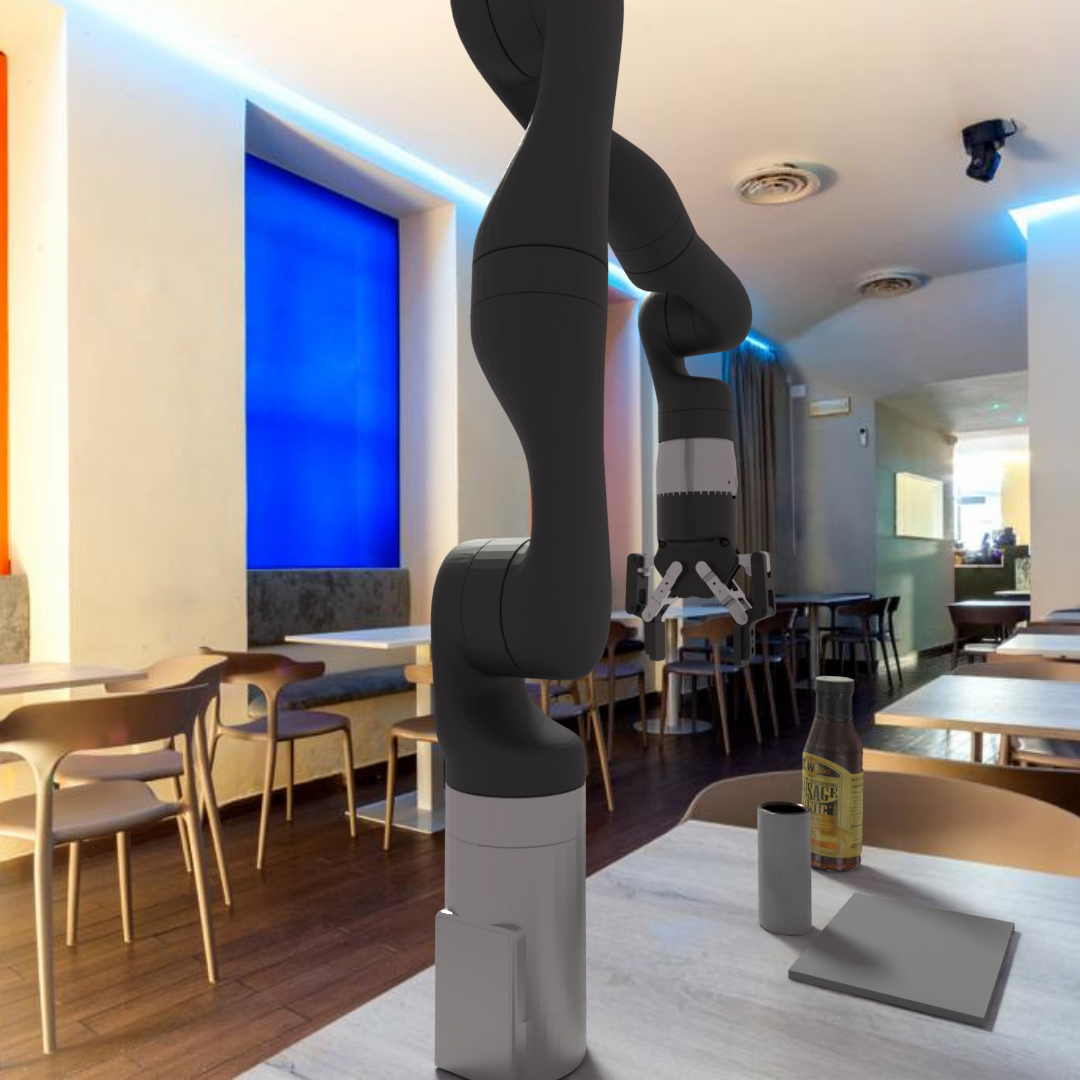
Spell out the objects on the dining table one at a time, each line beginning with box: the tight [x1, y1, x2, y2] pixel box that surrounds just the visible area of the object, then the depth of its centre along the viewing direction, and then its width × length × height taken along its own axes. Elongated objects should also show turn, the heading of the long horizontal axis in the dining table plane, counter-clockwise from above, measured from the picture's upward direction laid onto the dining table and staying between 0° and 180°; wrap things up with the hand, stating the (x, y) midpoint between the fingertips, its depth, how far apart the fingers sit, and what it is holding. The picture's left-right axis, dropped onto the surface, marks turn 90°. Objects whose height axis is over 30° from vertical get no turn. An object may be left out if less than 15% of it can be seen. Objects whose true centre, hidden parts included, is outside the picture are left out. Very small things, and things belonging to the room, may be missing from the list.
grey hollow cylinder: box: [757, 800, 813, 936], centre depth 79 cm, size 4×4×10 cm
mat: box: [787, 892, 1015, 1028], centre depth 73 cm, size 20×14×1 cm
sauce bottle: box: [801, 675, 864, 872], centre depth 95 cm, size 7×6×20 cm
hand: (698, 663), depth 84 cm, fingers open, 8 cm apart
